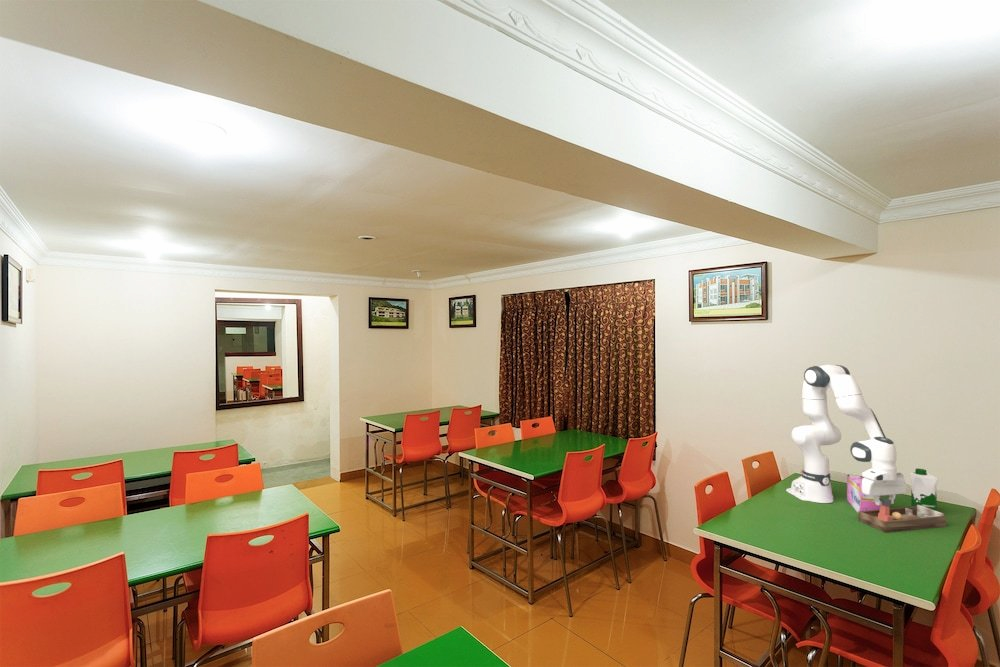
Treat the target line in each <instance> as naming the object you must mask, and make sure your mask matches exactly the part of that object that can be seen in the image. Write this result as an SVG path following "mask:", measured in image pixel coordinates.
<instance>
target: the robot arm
mask: <svg viewBox="0 0 1000 667" xmlns="http://www.w3.org/2000/svg"><path fill="white" fill-rule="evenodd" d="M803 379H804V380H803V382H802V387H801V407H802V409H801V410H802V413H803V414H804V416H806V417H807V418H808V419H810V422H811V424H805V425H804V424H802V425H800V426H795V427H794V428H792V430H791V433H790V437H791V440H792V441H793V443H794V444H795V445H796V446H798V447H799V449H800V450H801V453H802V457H803V469H801V470H799V472H800V473H801V476H799V477H797V478H796V479H793V480H792V482H791V487H788V488H786V490H785V492H787V493H789V494H790V495H792V496H793V497H796V498H797V499H799V500H801V501H805V502H806V501H807V502H812V503H819V504H830V503H833V502H834V495H833V492H832V485H831V482H830V481H831V473H830V459H829V457H828V456H827V455H825V454H824V453H823V452H822V449H821V447H822V446H831V445H834V444H837V443H840V441H841V439H842V433H841V430H840V429H839V428H838V427H837V426H836V425H835V424H834V423H833V422H832V419H831V418H830V415H829V410H828V398H827V390H828V389H829V388H830V389H831V391H832V393H833V397H834V400H835V403H836V406H837V408H838V409H839V412H842V413H843V414H845V415H847V416H850V417H852V418H855V419H857V420H859V421H860V422H861V424H863V426H864V428H865V430H866V432H867V434H868V437H869V439H867V440H859V441H854V442H853V443H852V444H851V445H850V448H849V449H850V453H851V454H850V455H851V456H852V458H853V459H854V460H856V461H858V462H861V463H870V464H871V468H869V469H867V470H865V471H863V472H862V473H861V476H862V477H865V478H863V479H862V493H863V494H864V495H867V496H873V498H874V499H875V504H876V505H882V504H881V503H882V501H880V500H879V498H881V496H889V497H888V498H887V499H888V500H890V505H894V504H895V503H894V500H895V499H896V498H897V495H904V494H906V493H907V484H906V479H905V475H904V474H903V473H902V472H898V471H897V465H896V462H897V447H896V444H895V442H894V441H893V440H892V439H890V438H887V437H886V434H885V433H884V431H883V429H882V426H881V424H880V422H879V420H878V418H877V416H876V414H875V413H874V411H873V409H872V408H870V407H869V405H868V404H867V402H866V401H865V398H864V396H863V394H862V391H861V389H860V386H859V384H858V382H857V381H856V379H855V377H854V376H853V375H851V372H850V370H849V369H848V368H847V367H846V366H843V365H841V364H839V365H838V364H823V365H813V366H811V367H807V368H806V370H805V371H804V372H803Z"/></svg>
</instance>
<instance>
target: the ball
mask: <svg viewBox="0 0 1000 667" xmlns="http://www.w3.org/2000/svg"><path fill="white" fill-rule="evenodd" d="M892 517H893V518H894V519H895V520H900V519H901V518H902V515H901V514H900V513H898V512H893V513H892Z"/></svg>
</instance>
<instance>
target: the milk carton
mask: <svg viewBox="0 0 1000 667" xmlns="http://www.w3.org/2000/svg"><path fill="white" fill-rule="evenodd" d="M909 475H910V476H909V477H910V488H911V489H910V490H911V491H910V493H911V494H910V497H911V499H910V501H911V503H910V505H911V506H910V507H914V506H917V505H920V506H923V507H926V508H929V509H932V510H935V511H938V506H937V505H938V501H937V500H938V498H937V496H938V495H937V494H938V493H937V491H938V490H937V486H938V485H937V484H938V481H939V480H938V479H939V478H938V477H936V476H934V475H933V474H931V473H928V472H927V470H926V469H924V468H915V472H909Z"/></svg>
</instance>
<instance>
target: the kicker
mask: <svg viewBox="0 0 1000 667" xmlns="http://www.w3.org/2000/svg"><path fill="white" fill-rule="evenodd" d="M888 499H889V498H885V497H880V498H879V500H880V501H882V503H881V504H882V505H880V513H878V519H880V520H883V521H891V516H890V509H891V508H890V507H891V504H890V500H888Z"/></svg>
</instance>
